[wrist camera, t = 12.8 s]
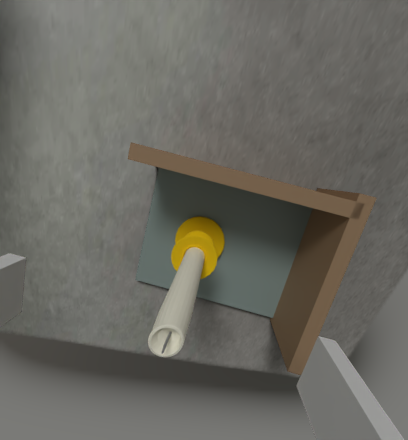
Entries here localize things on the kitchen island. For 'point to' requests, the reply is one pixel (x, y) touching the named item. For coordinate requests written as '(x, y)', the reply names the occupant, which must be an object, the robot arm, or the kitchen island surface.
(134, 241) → the kitchen island surface
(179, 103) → the kitchen island surface
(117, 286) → the kitchen island surface
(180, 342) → the candle
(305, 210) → the open room model
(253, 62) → the kitchen island surface
